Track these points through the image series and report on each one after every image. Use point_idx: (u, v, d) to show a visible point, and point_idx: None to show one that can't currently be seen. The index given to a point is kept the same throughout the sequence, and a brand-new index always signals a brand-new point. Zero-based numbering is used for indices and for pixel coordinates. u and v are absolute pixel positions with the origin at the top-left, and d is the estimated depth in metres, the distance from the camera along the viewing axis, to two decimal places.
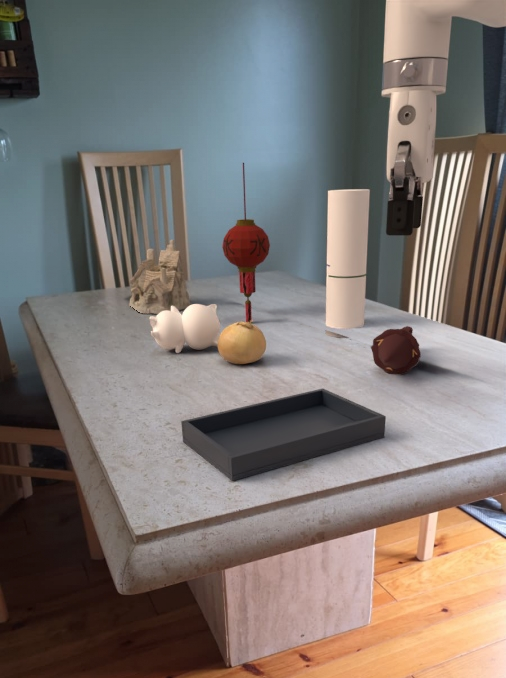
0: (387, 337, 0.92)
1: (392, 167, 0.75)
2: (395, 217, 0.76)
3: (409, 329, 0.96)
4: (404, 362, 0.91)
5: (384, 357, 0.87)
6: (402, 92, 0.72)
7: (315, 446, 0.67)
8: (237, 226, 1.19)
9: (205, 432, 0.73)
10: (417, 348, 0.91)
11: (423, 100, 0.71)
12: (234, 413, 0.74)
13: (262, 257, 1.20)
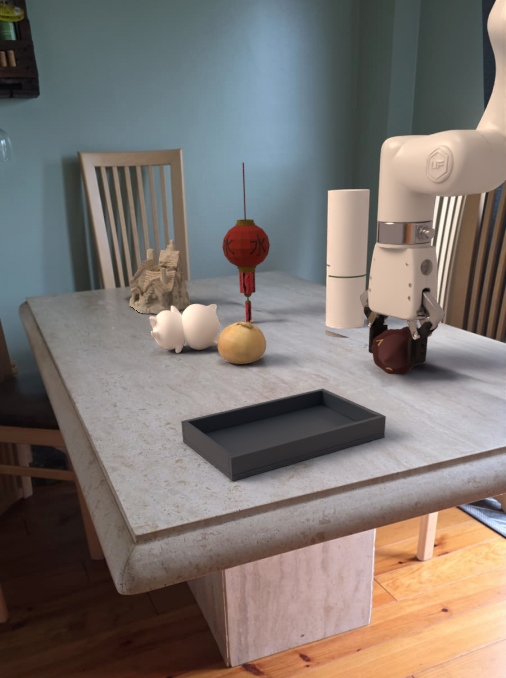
0: (387, 337, 0.92)
1: (417, 309, 0.86)
2: (419, 351, 0.88)
3: (409, 329, 0.96)
4: (404, 362, 0.91)
5: (384, 357, 0.87)
6: (421, 249, 0.83)
7: (315, 446, 0.67)
8: (237, 226, 1.19)
9: (205, 432, 0.73)
10: None
11: (435, 255, 0.85)
12: (234, 413, 0.74)
13: (262, 257, 1.20)
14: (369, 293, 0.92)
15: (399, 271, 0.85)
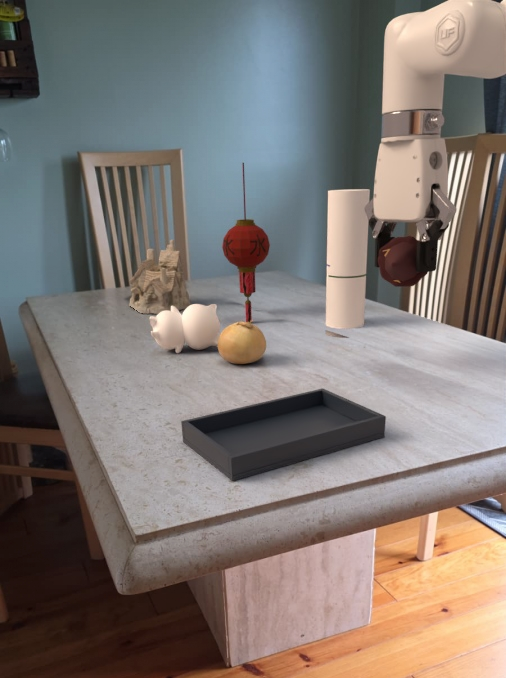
0: (394, 246, 0.86)
1: (426, 207, 0.80)
2: (429, 256, 0.82)
3: (417, 241, 0.90)
4: (413, 271, 0.85)
5: (391, 261, 0.81)
6: (430, 139, 0.77)
7: (315, 446, 0.67)
8: (237, 226, 1.19)
9: (205, 432, 0.73)
10: None
11: (444, 147, 0.79)
12: (234, 413, 0.74)
13: (262, 257, 1.20)
14: (374, 199, 0.87)
15: (406, 166, 0.80)
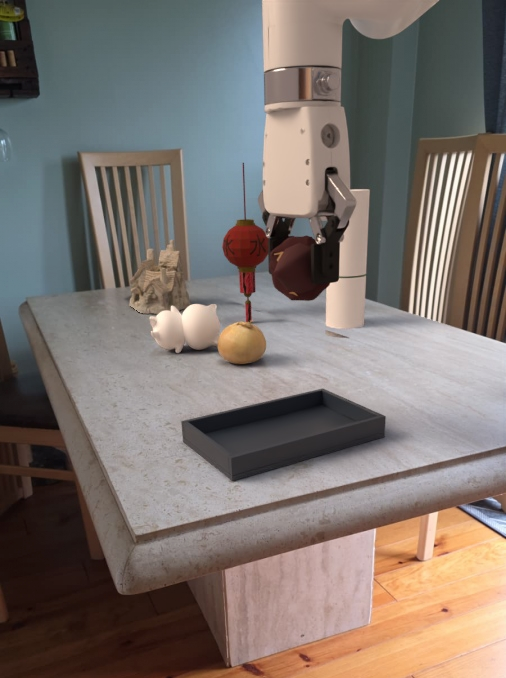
0: (288, 248, 0.67)
1: (320, 199, 0.60)
2: (327, 263, 0.63)
3: None
4: (310, 281, 0.66)
5: (275, 269, 0.62)
6: (321, 107, 0.58)
7: (315, 446, 0.67)
8: (237, 226, 1.19)
9: (205, 432, 0.73)
10: None
11: (343, 119, 0.59)
12: (234, 413, 0.74)
13: (262, 257, 1.20)
14: (263, 187, 0.67)
15: (293, 144, 0.60)
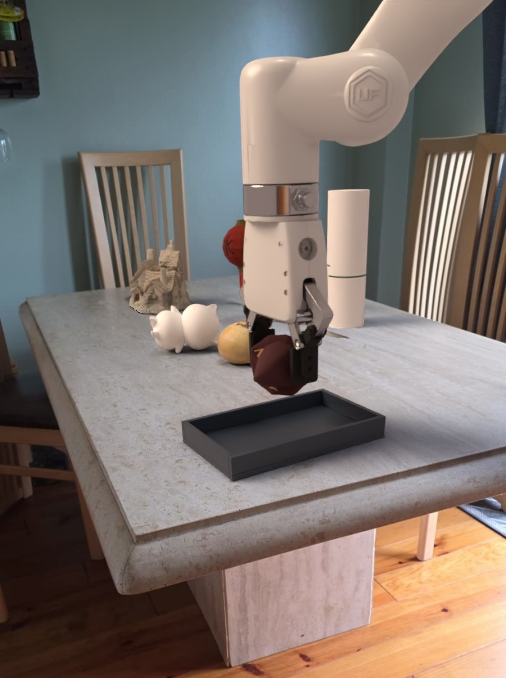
0: (268, 346, 0.68)
1: (298, 308, 0.61)
2: (306, 366, 0.64)
3: None
4: None
5: (254, 374, 0.63)
6: (299, 223, 0.59)
7: (315, 446, 0.67)
8: (237, 226, 1.19)
9: (205, 432, 0.73)
10: None
11: (321, 231, 0.60)
12: (234, 413, 0.74)
13: None
14: (244, 286, 0.68)
15: (272, 254, 0.61)
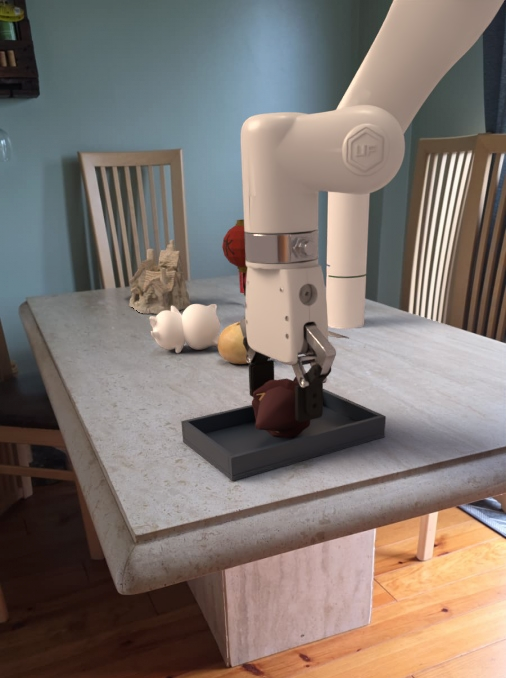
0: (269, 390, 0.70)
1: (299, 351, 0.63)
2: (311, 403, 0.65)
3: None
4: (291, 424, 0.69)
5: (256, 421, 0.65)
6: (299, 270, 0.61)
7: (315, 446, 0.67)
8: (237, 226, 1.19)
9: (205, 432, 0.73)
10: None
11: (320, 277, 0.62)
12: (234, 413, 0.74)
13: None
14: (246, 326, 0.70)
15: (273, 299, 0.63)
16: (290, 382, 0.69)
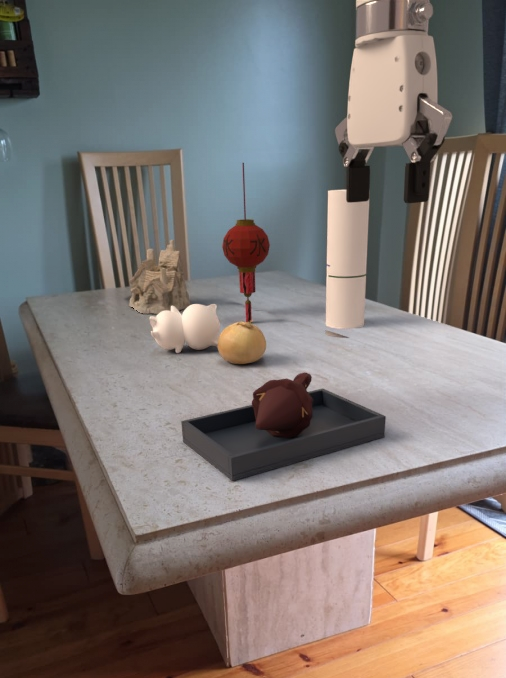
0: (269, 390, 0.70)
1: (412, 123, 0.65)
2: (420, 181, 0.67)
3: (305, 377, 0.74)
4: (291, 424, 0.69)
5: (256, 421, 0.65)
6: (415, 36, 0.62)
7: (315, 446, 0.67)
8: (237, 226, 1.19)
9: (205, 432, 0.73)
10: (307, 406, 0.69)
11: (433, 48, 0.64)
12: (234, 413, 0.74)
13: (262, 257, 1.20)
14: (348, 121, 0.71)
15: (386, 73, 0.65)
16: (290, 382, 0.69)
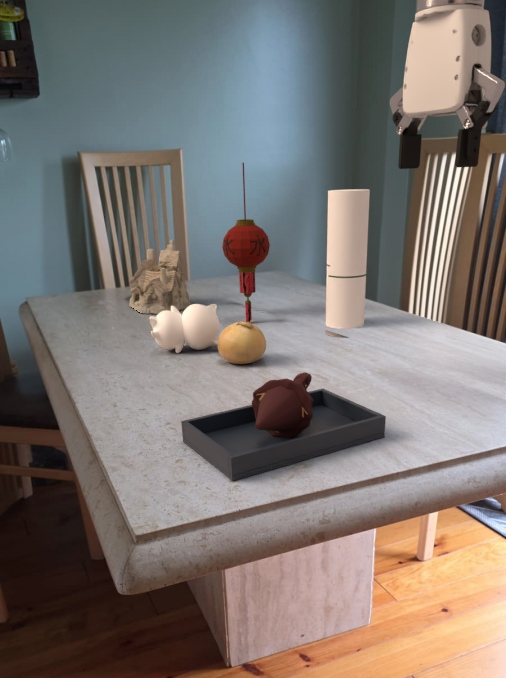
0: (269, 390, 0.70)
1: (466, 92, 0.70)
2: (472, 147, 0.72)
3: (305, 377, 0.74)
4: (291, 424, 0.69)
5: (256, 421, 0.65)
6: (473, 9, 0.68)
7: (315, 446, 0.67)
8: (237, 226, 1.19)
9: (205, 432, 0.73)
10: (307, 406, 0.69)
11: (489, 21, 0.69)
12: (234, 413, 0.74)
13: (262, 257, 1.20)
14: (404, 91, 0.77)
15: (444, 44, 0.70)
16: (290, 382, 0.69)
